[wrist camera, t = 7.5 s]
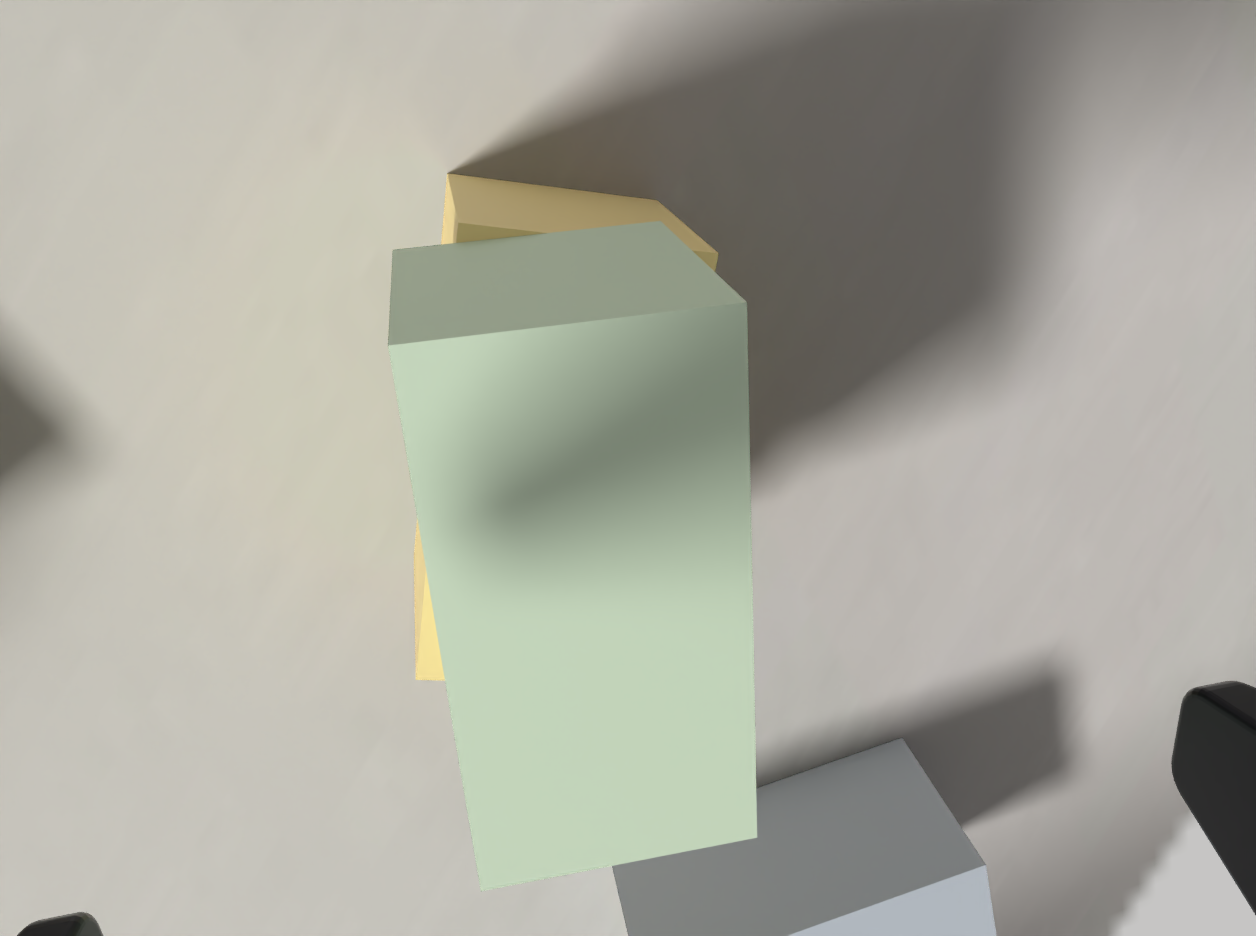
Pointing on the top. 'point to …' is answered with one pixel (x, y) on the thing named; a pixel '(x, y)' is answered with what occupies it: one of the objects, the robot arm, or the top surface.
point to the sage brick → (584, 539)
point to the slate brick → (824, 863)
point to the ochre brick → (511, 213)
